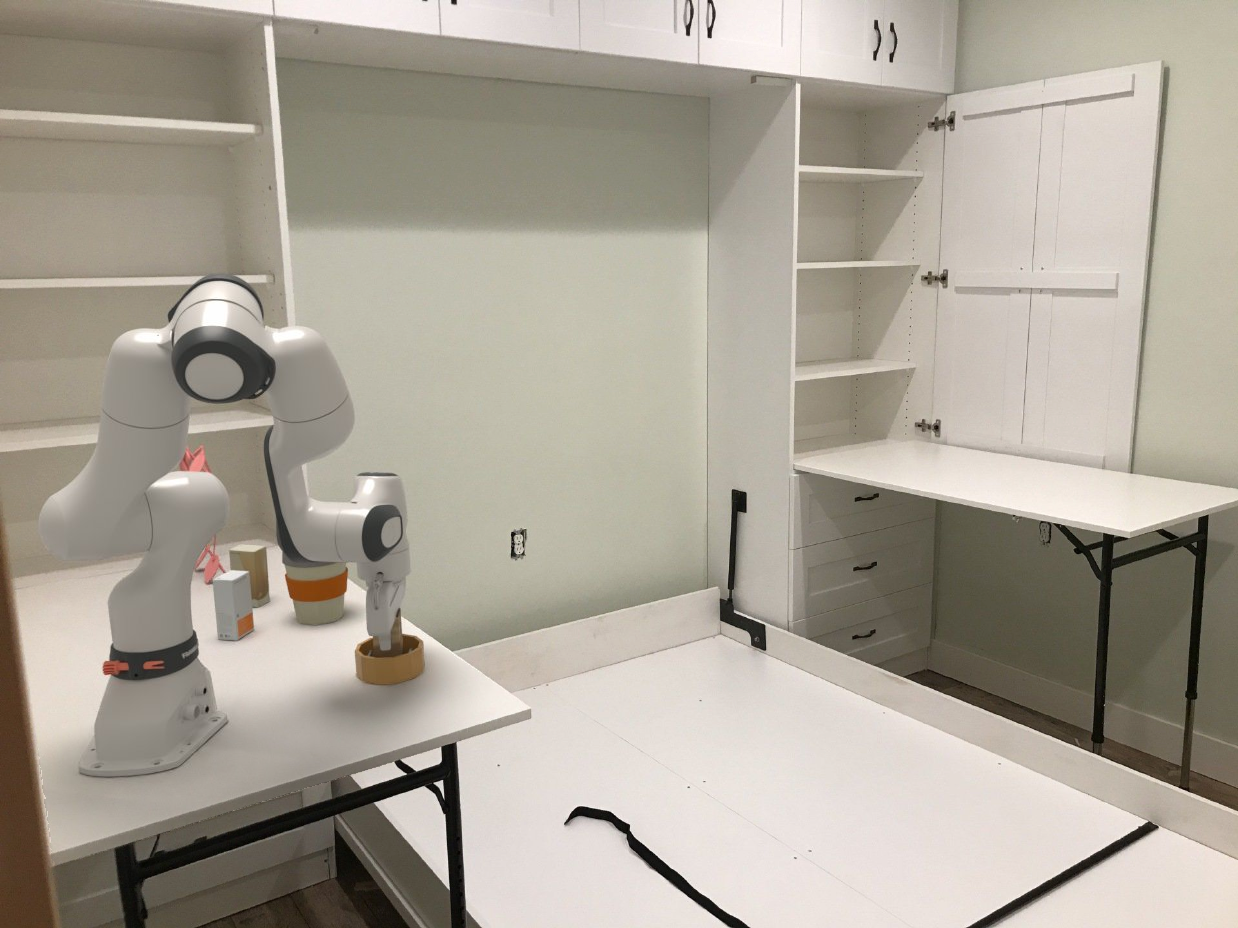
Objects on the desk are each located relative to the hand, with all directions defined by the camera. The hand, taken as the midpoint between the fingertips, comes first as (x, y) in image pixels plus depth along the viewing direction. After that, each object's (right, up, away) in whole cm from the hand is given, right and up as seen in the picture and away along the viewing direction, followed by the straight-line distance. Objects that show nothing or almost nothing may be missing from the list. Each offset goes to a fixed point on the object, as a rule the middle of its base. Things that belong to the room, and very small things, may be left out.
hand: (388, 641), depth 169 cm
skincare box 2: (-34, -2, +19) cm, 39 cm away
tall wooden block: (0, -4, +1) cm, 5 cm away
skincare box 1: (-37, +1, +36) cm, 52 cm away
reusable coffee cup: (-20, 0, +28) cm, 35 cm away
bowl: (0, -5, +1) cm, 5 cm away
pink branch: (-57, +4, +54) cm, 78 cm away
